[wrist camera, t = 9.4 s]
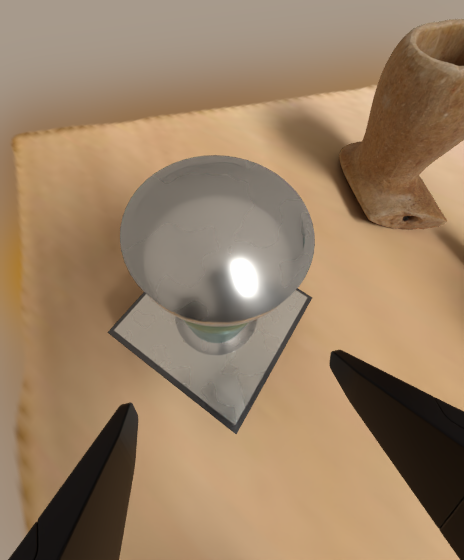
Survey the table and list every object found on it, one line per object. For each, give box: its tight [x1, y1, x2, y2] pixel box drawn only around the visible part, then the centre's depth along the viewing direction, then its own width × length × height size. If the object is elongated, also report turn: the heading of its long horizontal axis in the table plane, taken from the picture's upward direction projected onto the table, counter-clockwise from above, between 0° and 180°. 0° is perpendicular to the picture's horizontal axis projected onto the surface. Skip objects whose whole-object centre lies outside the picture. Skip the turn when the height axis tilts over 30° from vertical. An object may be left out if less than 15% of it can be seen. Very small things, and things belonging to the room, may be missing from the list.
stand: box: [108, 288, 312, 434], centre depth 20 cm, size 13×13×4 cm
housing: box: [120, 155, 315, 355], centre depth 12 cm, size 7×7×13 cm
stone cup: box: [339, 19, 464, 229], centre depth 23 cm, size 15×12×15 cm
